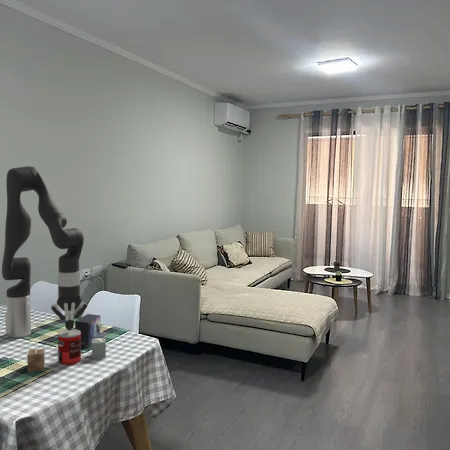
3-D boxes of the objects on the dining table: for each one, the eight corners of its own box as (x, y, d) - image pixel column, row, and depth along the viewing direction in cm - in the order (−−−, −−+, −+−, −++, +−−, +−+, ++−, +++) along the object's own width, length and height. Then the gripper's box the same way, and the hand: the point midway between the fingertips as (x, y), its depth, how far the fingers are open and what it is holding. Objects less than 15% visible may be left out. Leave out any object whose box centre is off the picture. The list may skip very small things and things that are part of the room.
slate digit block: (92, 358, 168) (91, 343, 168) (92, 353, 173) (92, 338, 172) (105, 357, 170) (105, 341, 169) (105, 352, 174) (105, 337, 174)
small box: (88, 347, 179) (88, 322, 178) (74, 346, 180) (73, 321, 179) (101, 338, 189) (101, 314, 188) (87, 337, 191) (87, 313, 189)
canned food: (61, 357, 169) (61, 328, 168) (83, 357, 170) (82, 328, 169) (55, 365, 161) (55, 335, 160) (78, 365, 162) (78, 335, 161)
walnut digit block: (27, 371, 156) (27, 354, 155) (29, 366, 161) (29, 349, 160) (43, 370, 157) (42, 353, 157) (44, 364, 162) (44, 348, 161)
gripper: (49, 286, 157) (50, 334, 159) (88, 284, 162) (89, 331, 163) (49, 282, 164) (50, 328, 166) (87, 280, 169) (87, 324, 170)
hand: (69, 329), depth 164 cm, fingers closed
